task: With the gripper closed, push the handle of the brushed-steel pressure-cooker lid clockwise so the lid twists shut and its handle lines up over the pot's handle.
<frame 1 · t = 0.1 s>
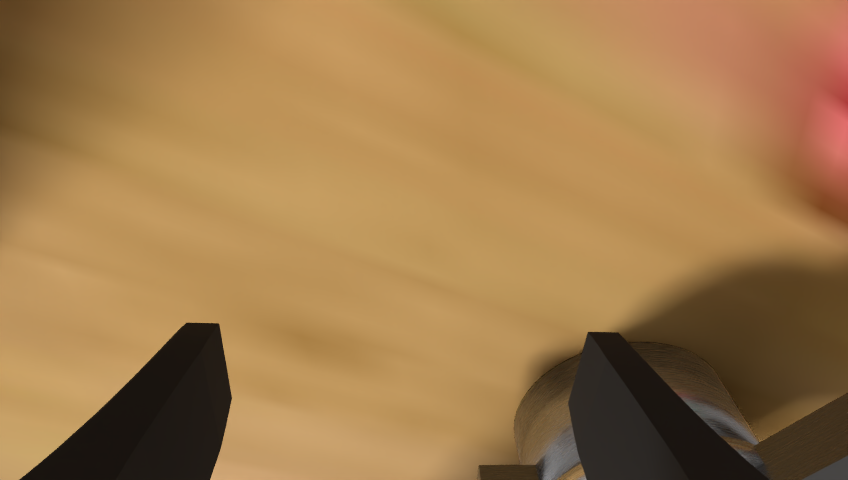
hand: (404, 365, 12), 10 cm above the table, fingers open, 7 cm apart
pot: (617, 419, 28), on the table
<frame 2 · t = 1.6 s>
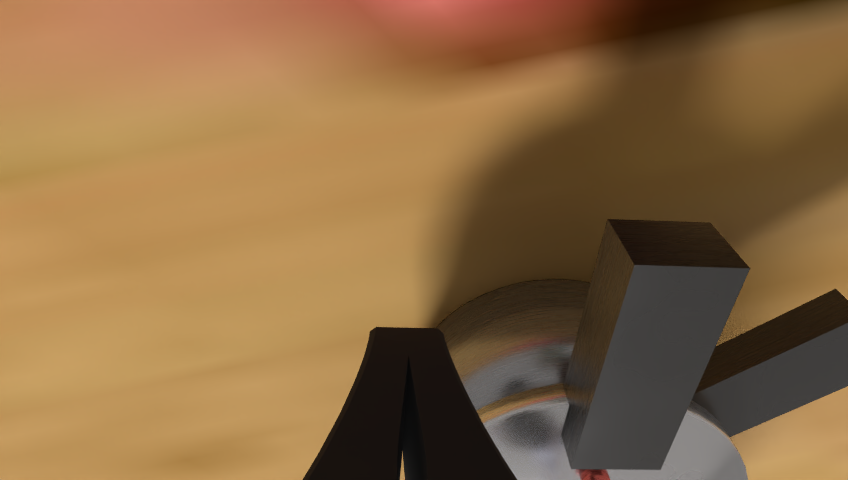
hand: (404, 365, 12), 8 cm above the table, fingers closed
lid: (594, 471, 17), point 6 cm above the table, hinge at 50.0°
pot: (537, 379, 23), on the table
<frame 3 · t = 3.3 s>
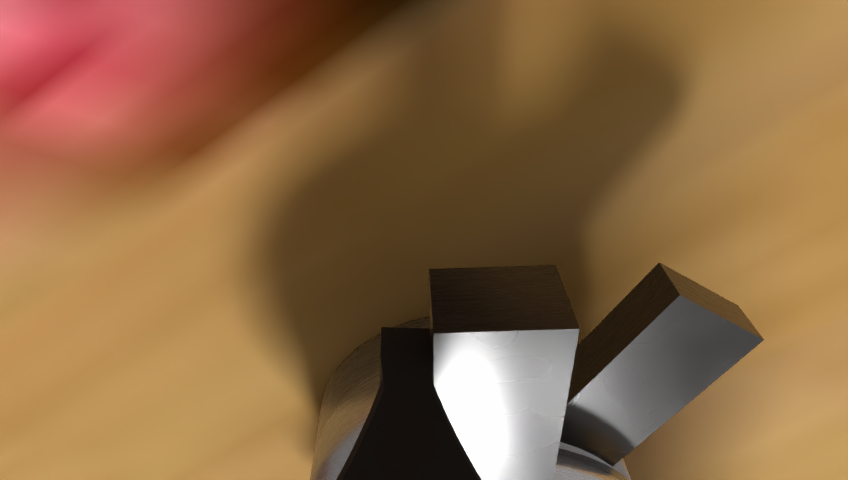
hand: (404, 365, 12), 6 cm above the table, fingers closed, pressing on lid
pot: (459, 419, 21), on the table
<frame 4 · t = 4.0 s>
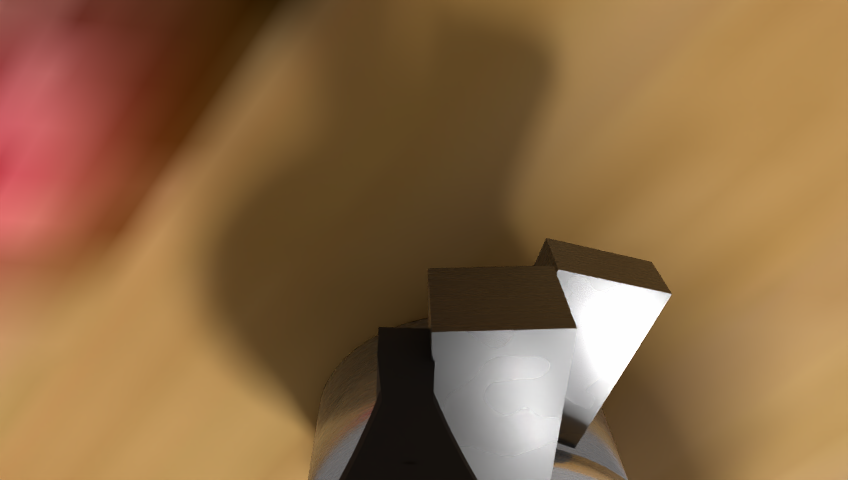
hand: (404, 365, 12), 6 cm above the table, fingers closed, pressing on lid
pot: (457, 421, 21), on the table
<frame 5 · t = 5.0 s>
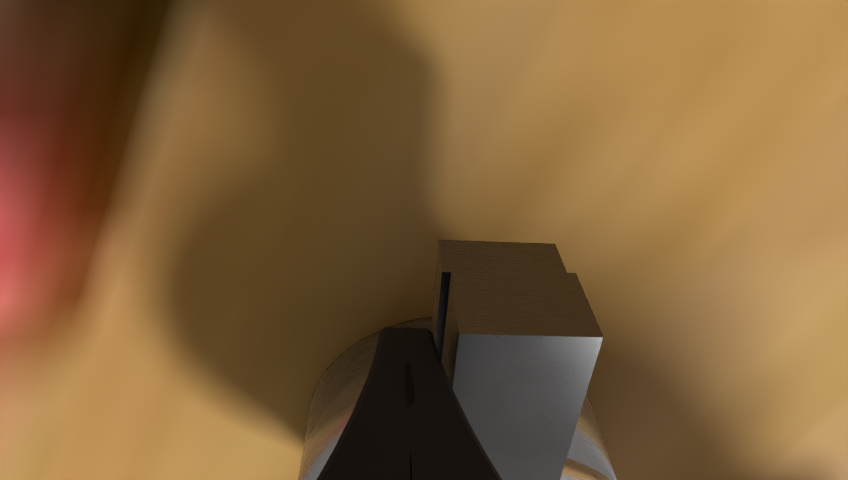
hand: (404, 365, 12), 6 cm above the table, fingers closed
pot: (448, 421, 21), on the table
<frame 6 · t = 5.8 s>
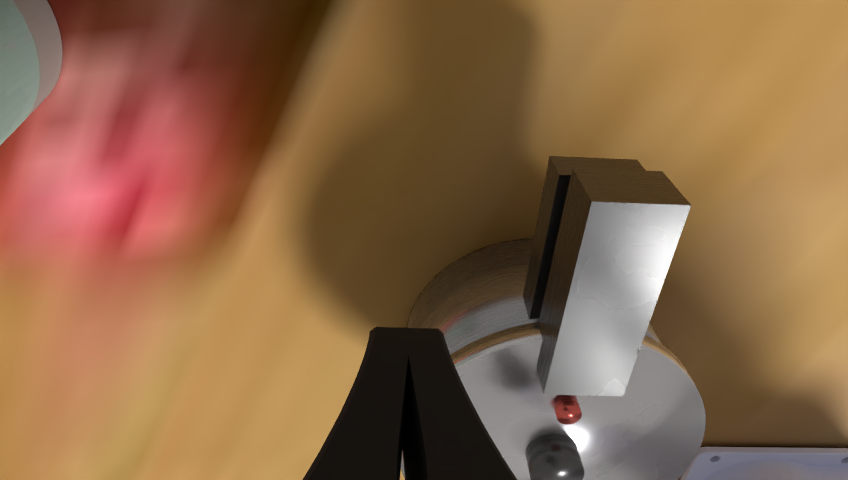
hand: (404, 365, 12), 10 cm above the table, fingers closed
lid: (566, 402, 19), point 6 cm above the table, hinge at -0.1°
pot: (521, 335, 25), on the table
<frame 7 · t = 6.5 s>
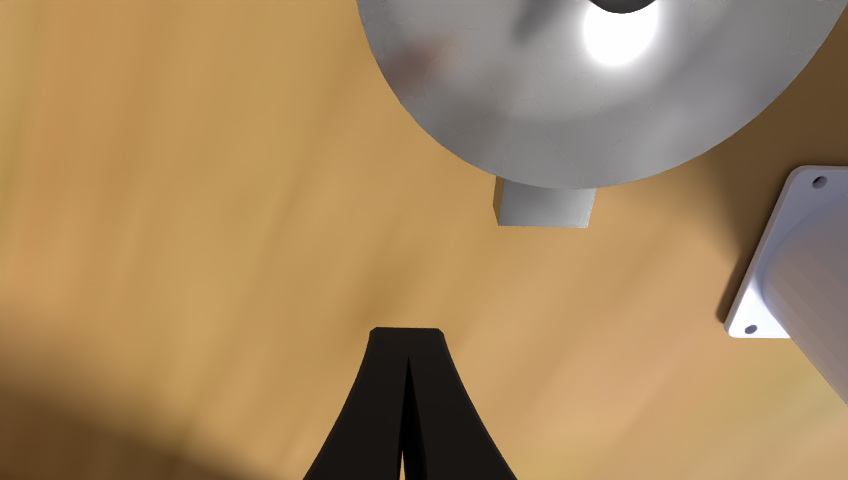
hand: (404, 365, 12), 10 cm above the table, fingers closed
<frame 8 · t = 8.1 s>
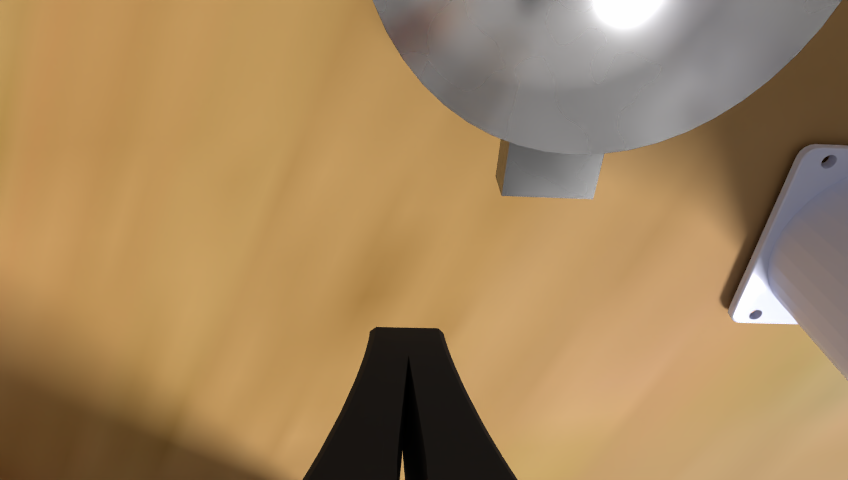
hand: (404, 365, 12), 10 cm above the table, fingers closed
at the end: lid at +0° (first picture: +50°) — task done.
